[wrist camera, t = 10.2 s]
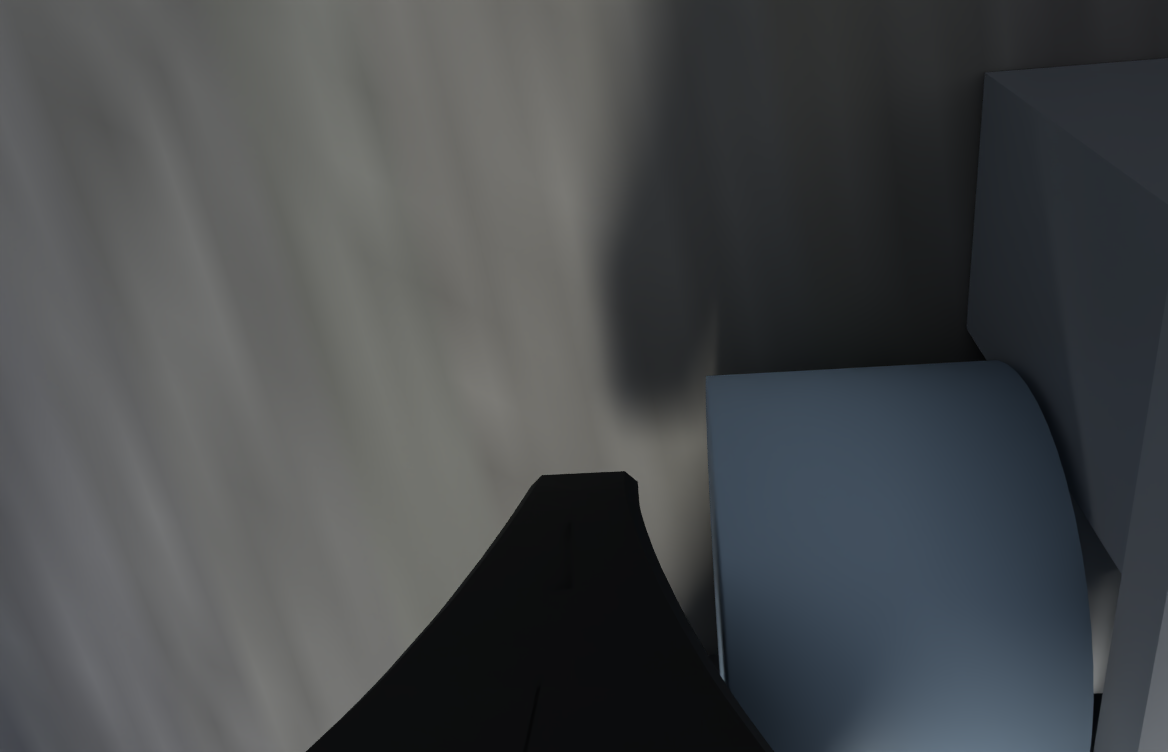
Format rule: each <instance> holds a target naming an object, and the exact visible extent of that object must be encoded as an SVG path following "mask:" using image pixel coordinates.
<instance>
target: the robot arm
mask: <svg viewBox="0 0 1168 752" xmlns="http://www.w3.org/2000/svg"><path fill="white" fill-rule="evenodd" d="M306 752H774V750H773V749H772V748H771V747H770V745H769V744H768V743H767V741H766V740H765V738H764V737H763V736H762V734H761V733H760V732H759V730H758V729H757V728H756V726H755V725H754V724H753V722H752V721H751V720H750V718H749V717H748V715H747V714H746V713H745V711H744V710H743V708H742V707H741V706H740V704H739V703H738V701H737V700H736V698H735V697H734V695H733V694H732V692H731V691H730V689H729V688H728V686H727V685H726V683H725V682H724V680H723V679H722V677H721V676H720V674H719V672H718V671H717V669H716V668H715V666H714V664H713V663H712V661H711V659H710V658H709V656H708V654H707V653H706V651H705V649H704V648H703V646H702V645H701V643H700V641H699V640H698V638H697V636H696V635H695V633H694V631H693V629H692V627H691V625H690V624H689V622H688V620H687V618H686V616H685V615H684V613H683V611H682V609H681V607H680V605H679V603H678V601H677V599H676V597H675V595H674V593H673V591H672V589H671V587H670V585H669V582H668V580H667V578H666V576H665V574H664V572H663V570H662V568H661V566H660V563H659V561H658V559H657V556H656V554H655V552H654V549H653V547H652V544H651V541H650V538H649V536H648V533H647V530H646V527H645V524H644V521H643V518H642V514H641V510H640V506H639V494H638V482H637V481H636V480H635V479H634V478H632V477H631V476H630V475H629V474H628V473H626V472H625V471H621V472H600V473H579V474H559V475H542V476H541V477H540V478H539V479H538V480H537V481H536V482H535V483H534V484H533V485H532V486H531V487H530V489H529V490H528V492H527V493H526V495H525V497H524V498H523V500H522V501H521V503H520V504H519V506H518V507H517V509H516V510H515V512H514V513H513V514H512V516H511V517H510V519H509V520H508V522H507V523H506V525H505V526H504V528H503V529H502V530H501V532H500V533H499V535H498V536H497V537H496V539H495V540H494V542H493V543H492V544H491V546H490V547H489V549H488V550H487V551H486V553H485V554H484V555H483V557H482V558H481V560H480V561H479V562H478V563H477V565H476V566H475V567H474V569H473V570H472V571H471V572H470V574H469V575H468V576H467V578H466V579H465V580H464V581H463V583H462V584H461V585H460V587H459V588H458V589H457V590H456V592H455V593H454V594H453V596H452V597H451V598H450V599H449V601H448V602H447V603H446V605H445V606H444V607H443V608H442V609H441V611H440V612H439V613H438V614H437V615H436V617H435V618H434V619H433V620H432V621H431V622H430V624H429V625H428V626H427V627H426V628H425V629H424V630H423V632H422V633H421V634H420V635H419V636H418V637H417V638H416V639H415V641H414V642H413V643H412V644H411V645H410V646H409V647H408V649H407V650H406V651H405V652H404V653H403V654H402V655H401V656H400V658H399V659H398V660H397V661H396V662H395V663H394V664H393V666H392V667H391V668H390V669H389V670H388V671H387V672H386V673H385V674H384V676H383V677H382V678H381V679H380V680H379V681H378V682H377V683H376V684H375V685H374V686H373V687H372V688H371V689H370V690H369V691H368V692H367V693H366V694H365V695H364V696H363V697H362V698H361V699H360V700H359V701H358V702H357V703H356V704H355V705H354V706H353V707H352V708H351V709H350V710H349V711H348V712H347V713H346V714H345V715H344V716H343V717H342V718H341V719H340V720H339V721H338V722H337V723H336V724H335V725H334V726H333V727H332V728H331V729H330V730H328V731H327V732H326V733H325V734H324V735H323V736H322V737H321V738H320V739H319V740H318V741H317V742H316V743H315V744H314V745H313V746H311V747H310V748H309V749H308V750H307V751H306Z"/></svg>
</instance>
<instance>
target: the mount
mask: <svg viewBox="0 0 1168 752" xmlns="http://www.w3.org/2000/svg"><path fill="white" fill-rule="evenodd" d="M966 328H967V330H968V332H969V333H970V335H971V336H972V338H973V340H974V341H975V343H976V344H977V346H978V347H979V349H980V351H981V352H982V354H983V355H984V357H985V359H986V360H987V361H989V360H999V361H1001V362H1004V363H1006V364H1008V365H1009V366H1010V367H1012V368H1013V369H1014V370H1015V371H1016V372H1017V373H1018V374H1019V375H1020V376H1021V378H1022V379H1023V380H1024V382H1025V383H1026V384H1027V385H1028V387H1029V389H1030V391H1031V392H1032V394H1033V396H1034V397H1035V399H1036V401H1037V402H1038V405H1039V407H1040V409H1041V411H1042V413H1043V415H1044V418H1045V420H1046V422H1047V424H1048V427H1049V429H1050V432H1051V435H1052V438H1053V440H1054V443H1055V446H1056V448H1057V451H1058V454H1059V458H1060V461H1061V464H1062V468H1063V471H1064V474H1065V478H1066V481H1067V485H1068V489H1069V492H1070V493H1071V495H1072V496H1073V498H1074V500H1075V501H1076V503H1077V504H1078V506H1079V507H1080V509H1081V511H1082V512H1083V514H1084V515H1085V517H1086V519H1087V520H1088V522H1089V523H1090V525H1091V526H1092V528H1093V530H1094V531H1095V533H1096V534H1097V536H1098V538H1099V539H1100V541H1101V542H1102V544H1103V545H1104V547H1105V549H1106V550H1107V552H1108V553H1109V555H1110V557H1111V558H1112V560H1113V561H1114V563H1115V564H1116V566H1117V568H1118V569H1119V571H1120V572H1121V574H1122V577H1121V583H1120V589H1119V595H1118V602H1117V608H1116V614H1115V620H1114V627H1113V633H1112V639H1111V645H1110V652H1109V658H1108V664H1107V670H1106V677H1105V683H1104V689H1103V693H1095V694H1094V703H1093V722H1092V738H1091V746H1090V752H1168V58H1163V59H1150V60H1137V61H1125V62H1112V63H1099V64H1087V65H1074V66H1061V67H1049V68H1036V69H1023V70H1010V71H998V72H985V78H984V92H983V106H982V119H981V133H980V147H979V161H978V175H977V188H976V202H975V216H974V230H973V244H972V257H971V271H970V285H969V299H968V313H967V326H966Z"/></svg>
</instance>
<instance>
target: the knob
mask: <svg viewBox="0 0 1168 752" xmlns="http://www.w3.org/2000/svg"><path fill="white" fill-rule="evenodd" d="M706 423H707V449H708V473H709V494H710V514H711V533H712V552H713V570H714V588H715V605H716V621H717V638H718V654H719V669H720V676H721V677H722V679H723V680H724V682H725V683H726V685H727V686H728V688H729V689H730V691H731V692H732V694H733V695H734V697H735V698H736V700H737V701H738V703H739V704H740V706H741V707H742V708H743V710H744V711H745V713H746V714H747V715H748V717H749V718H750V720H751V721H752V722H753V724H754V725H755V726H756V728H757V729H758V730H759V732H760V733H761V734H762V736H763V737H764V738H765V740H766V741H767V743H768V744H769V745H770V747H771V748H772V749H773V750H774V752H1090V746H1091V738H1092V722H1093V703H1094V694H1095V693H1103V689H1104V683H1105V677H1106V670H1107V664H1108V658H1109V652H1110V645H1111V639H1112V633H1113V627H1114V620H1115V614H1116V608H1117V602H1118V595H1119V589H1120V583H1121V577H1122V574H1121V572H1120V571H1119V569H1118V568H1117V566H1116V564H1115V563H1114V561H1113V560H1112V558H1111V557H1110V555H1109V553H1108V552H1107V550H1106V549H1105V547H1104V545H1103V544H1102V542H1101V541H1100V539H1099V538H1098V536H1097V534H1096V533H1095V531H1094V530H1093V528H1092V526H1091V525H1090V523H1089V522H1088V520H1087V519H1086V517H1085V515H1084V514H1083V512H1082V511H1081V509H1080V507H1079V506H1078V504H1077V503H1076V501H1075V500H1074V498H1073V496H1072V495H1071V493H1070V492H1069V489H1068V485H1067V481H1066V478H1065V474H1064V471H1063V468H1062V464H1061V461H1060V458H1059V454H1058V451H1057V448H1056V446H1055V443H1054V440H1053V438H1052V435H1051V432H1050V429H1049V427H1048V424H1047V422H1046V420H1045V418H1044V415H1043V413H1042V411H1041V409H1040V407H1039V405H1038V402H1037V401H1036V399H1035V397H1034V396H1033V394H1032V392H1031V391H1030V389H1029V387H1028V385H1027V384H1026V383H1025V382H1024V380H1023V379H1022V378H1021V376H1020V375H1019V374H1018V373H1017V372H1016V371H1015V370H1014V369H1013V368H1012V367H1010V366H1009V365H1008V364H1006V363H1004V362H1001V361H999V360H989V361H970V362H952V363H934V364H916V365H897V366H879V367H861V368H843V369H824V370H806V371H788V372H770V373H751V374H733V375H715V376H706Z"/></svg>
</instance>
